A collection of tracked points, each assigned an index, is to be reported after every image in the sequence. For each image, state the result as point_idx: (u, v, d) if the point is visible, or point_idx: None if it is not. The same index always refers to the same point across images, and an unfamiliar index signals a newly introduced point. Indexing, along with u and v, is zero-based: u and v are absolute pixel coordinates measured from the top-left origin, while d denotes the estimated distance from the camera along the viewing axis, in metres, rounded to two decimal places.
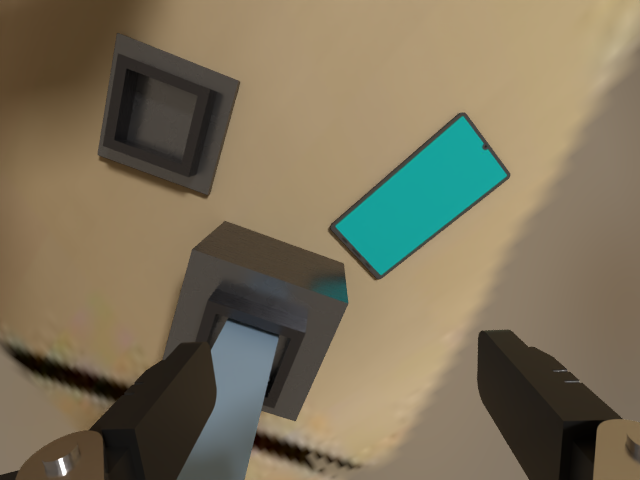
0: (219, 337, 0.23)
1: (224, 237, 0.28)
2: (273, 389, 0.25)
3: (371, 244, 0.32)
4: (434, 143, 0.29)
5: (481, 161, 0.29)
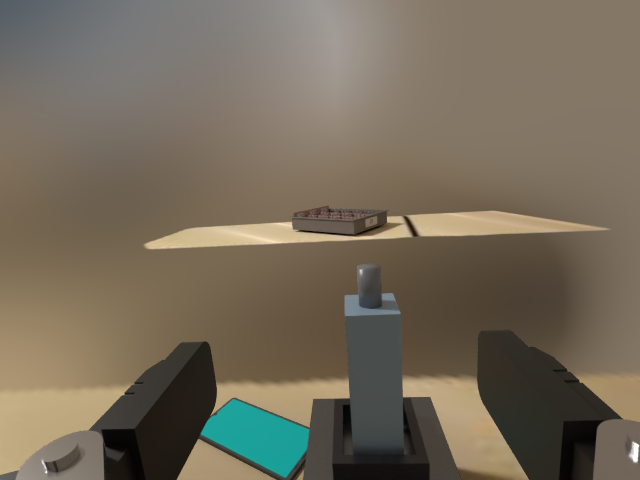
0: None
1: None
2: None
3: (294, 447, 0.39)
4: (213, 438, 0.41)
5: (224, 412, 0.45)
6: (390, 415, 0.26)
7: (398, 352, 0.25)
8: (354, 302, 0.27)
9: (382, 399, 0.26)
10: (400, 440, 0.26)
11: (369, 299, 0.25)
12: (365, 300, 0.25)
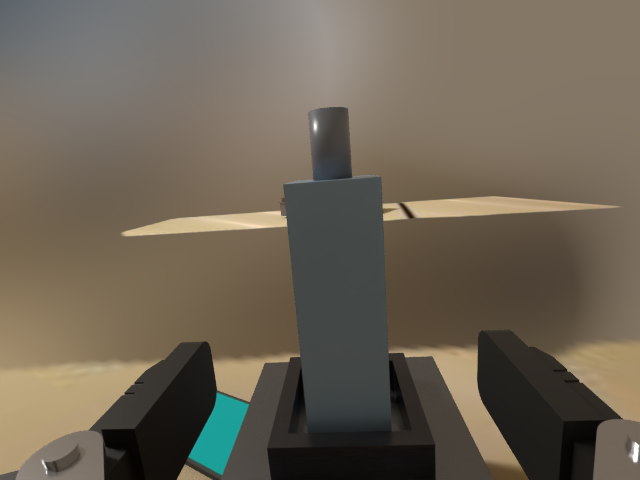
0: (304, 395, 0.16)
1: None
2: None
3: None
4: None
5: None
6: (368, 365, 0.15)
7: (378, 250, 0.14)
8: None
9: (352, 337, 0.15)
10: (386, 408, 0.16)
11: (328, 162, 0.15)
12: (322, 166, 0.15)
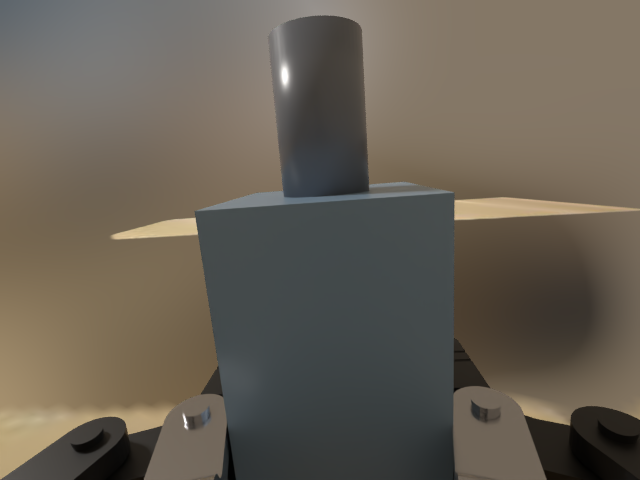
0: None
1: None
2: None
3: None
4: None
5: None
6: None
7: (439, 376, 0.06)
8: (273, 195, 0.08)
9: None
10: None
11: (315, 156, 0.06)
12: (300, 163, 0.06)
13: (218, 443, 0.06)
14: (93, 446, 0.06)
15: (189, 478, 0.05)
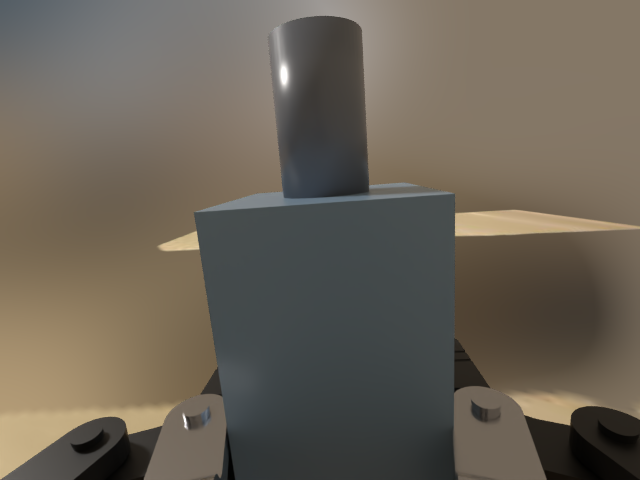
0: None
1: None
2: None
3: None
4: None
5: None
6: None
7: (440, 378, 0.06)
8: (273, 196, 0.08)
9: None
10: None
11: (315, 157, 0.06)
12: (300, 164, 0.06)
13: (218, 443, 0.06)
14: (93, 446, 0.06)
15: (189, 478, 0.05)
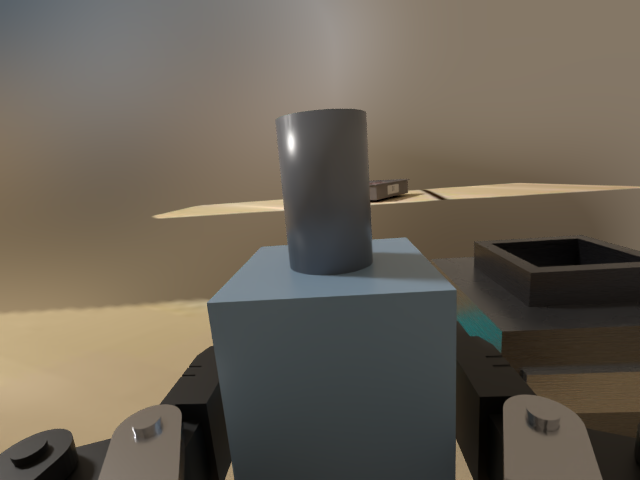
0: None
1: None
2: (562, 238, 0.23)
3: None
4: None
5: None
6: None
7: (442, 455, 0.06)
8: (279, 260, 0.08)
9: None
10: None
11: (321, 237, 0.06)
12: (306, 243, 0.06)
13: (163, 458, 0.06)
14: (34, 460, 0.06)
15: None
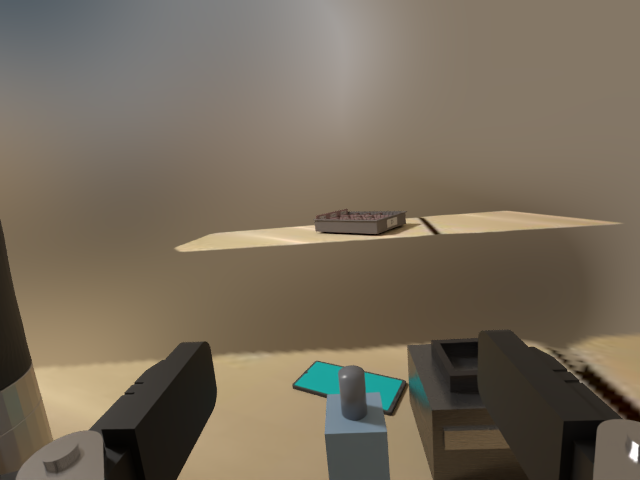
0: None
1: (429, 438, 0.33)
2: None
3: (386, 391, 0.46)
4: (312, 388, 0.48)
5: (313, 371, 0.52)
6: None
7: (385, 472, 0.22)
8: (337, 408, 0.24)
9: None
10: None
11: (352, 410, 0.23)
12: (348, 411, 0.23)
13: None
14: None
15: None
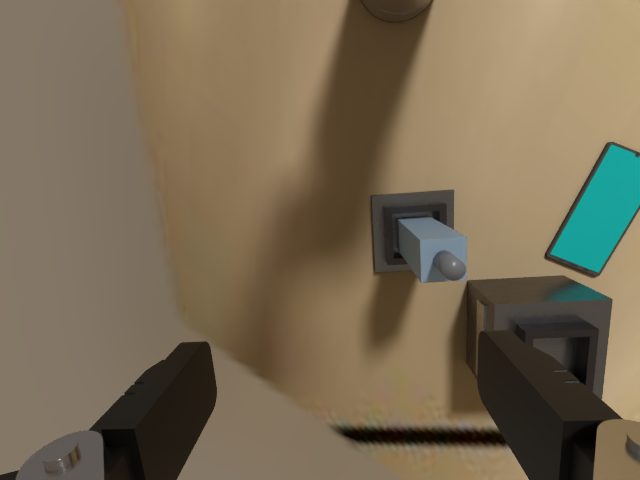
0: (401, 222, 0.39)
1: (489, 290, 0.40)
2: (587, 377, 0.35)
3: (582, 254, 0.42)
4: (599, 169, 0.40)
5: (639, 165, 0.40)
6: (403, 250, 0.39)
7: (413, 270, 0.33)
8: (448, 246, 0.30)
9: (406, 248, 0.37)
10: (400, 251, 0.41)
11: (435, 261, 0.29)
12: (436, 258, 0.29)
13: None
14: None
15: None
